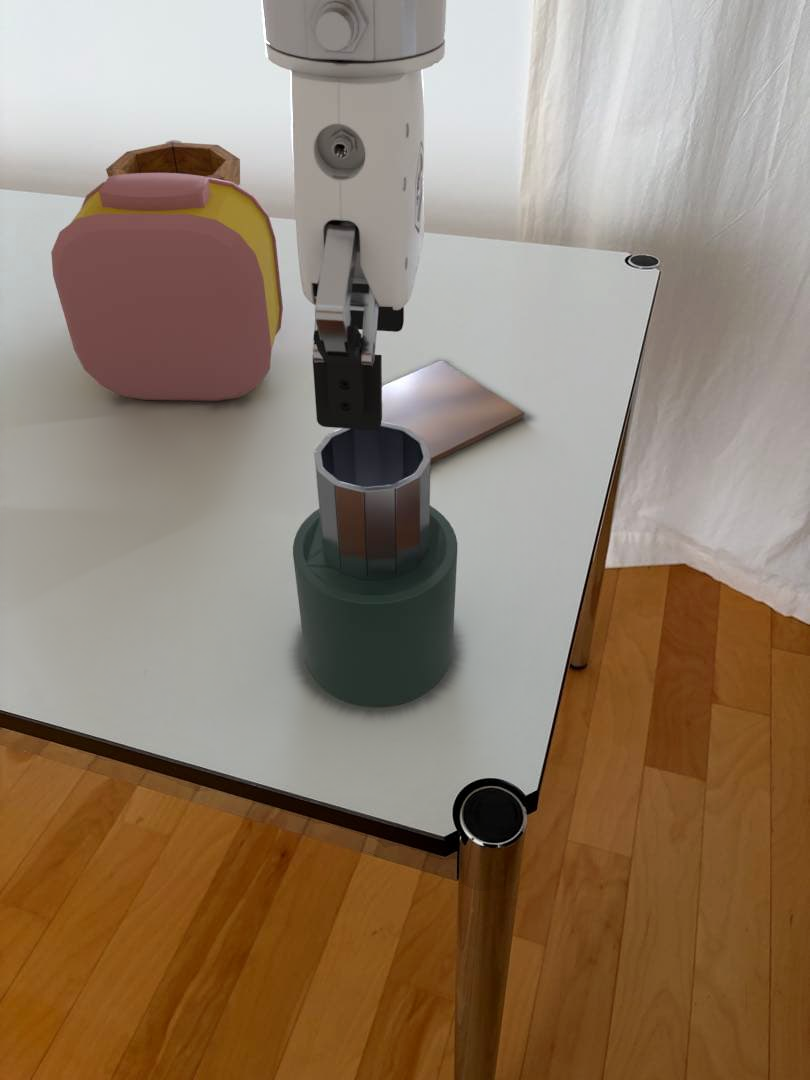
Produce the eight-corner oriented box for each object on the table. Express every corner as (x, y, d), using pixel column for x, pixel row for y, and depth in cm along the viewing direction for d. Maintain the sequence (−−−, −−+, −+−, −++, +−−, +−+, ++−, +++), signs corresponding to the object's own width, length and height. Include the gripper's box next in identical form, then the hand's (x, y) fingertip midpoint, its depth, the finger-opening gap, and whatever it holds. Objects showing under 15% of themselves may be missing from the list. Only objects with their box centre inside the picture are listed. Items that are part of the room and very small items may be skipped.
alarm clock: (289, 350, 94) (270, 160, 81) (275, 409, 86) (251, 209, 72) (113, 348, 94) (66, 158, 81) (82, 407, 86) (24, 207, 73)
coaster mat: (524, 417, 84) (524, 412, 84) (426, 466, 79) (426, 461, 79) (441, 365, 91) (441, 359, 91) (345, 406, 86) (345, 401, 85)
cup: (448, 548, 56) (452, 459, 52) (364, 596, 53) (360, 506, 49) (384, 496, 60) (382, 409, 55) (302, 538, 57) (292, 449, 52)
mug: (261, 321, 98) (244, 183, 88) (135, 334, 96) (103, 194, 86) (247, 246, 112) (231, 119, 102) (137, 256, 110) (109, 128, 100)
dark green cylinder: (483, 656, 63) (491, 552, 56) (364, 734, 58) (358, 630, 51) (391, 575, 69) (389, 472, 62) (276, 639, 64) (261, 535, 57)
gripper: (426, 79, 30) (417, 477, 42) (459, -27, 43) (445, 301, 55) (208, 70, 31) (258, 465, 42) (304, -32, 44) (323, 294, 55)
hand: (363, 373), depth 48 cm, fingers open, 9 cm apart
